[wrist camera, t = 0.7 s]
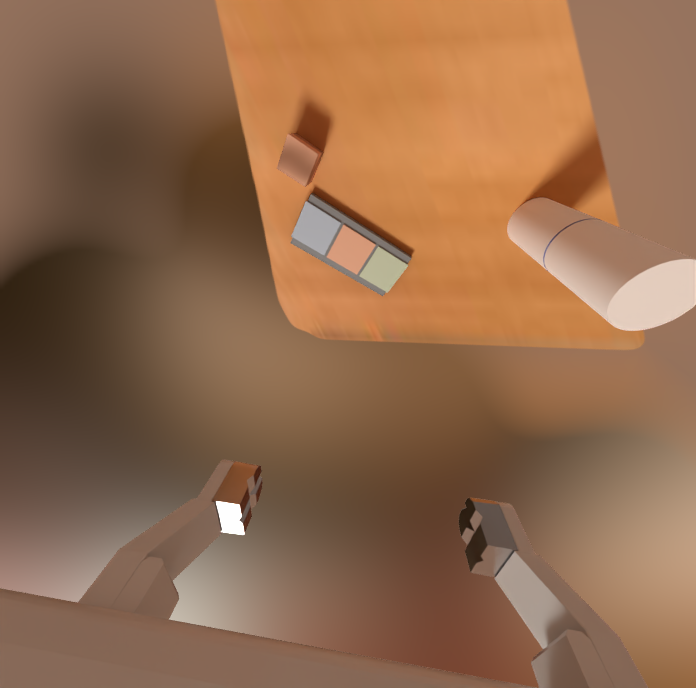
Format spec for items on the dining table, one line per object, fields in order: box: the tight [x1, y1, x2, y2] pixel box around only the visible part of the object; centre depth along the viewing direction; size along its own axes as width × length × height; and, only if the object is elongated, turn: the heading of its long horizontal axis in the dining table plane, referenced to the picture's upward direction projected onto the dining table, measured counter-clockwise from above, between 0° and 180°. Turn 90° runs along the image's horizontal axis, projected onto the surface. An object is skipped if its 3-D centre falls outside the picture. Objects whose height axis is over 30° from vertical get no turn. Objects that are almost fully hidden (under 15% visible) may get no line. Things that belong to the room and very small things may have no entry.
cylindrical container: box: [507, 197, 696, 331], centre depth 33 cm, size 7×7×25 cm
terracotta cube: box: [277, 133, 323, 187], centre depth 39 cm, size 4×4×4 cm
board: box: [291, 193, 411, 296], centre depth 48 cm, size 9×20×2 cm, turn 60°
